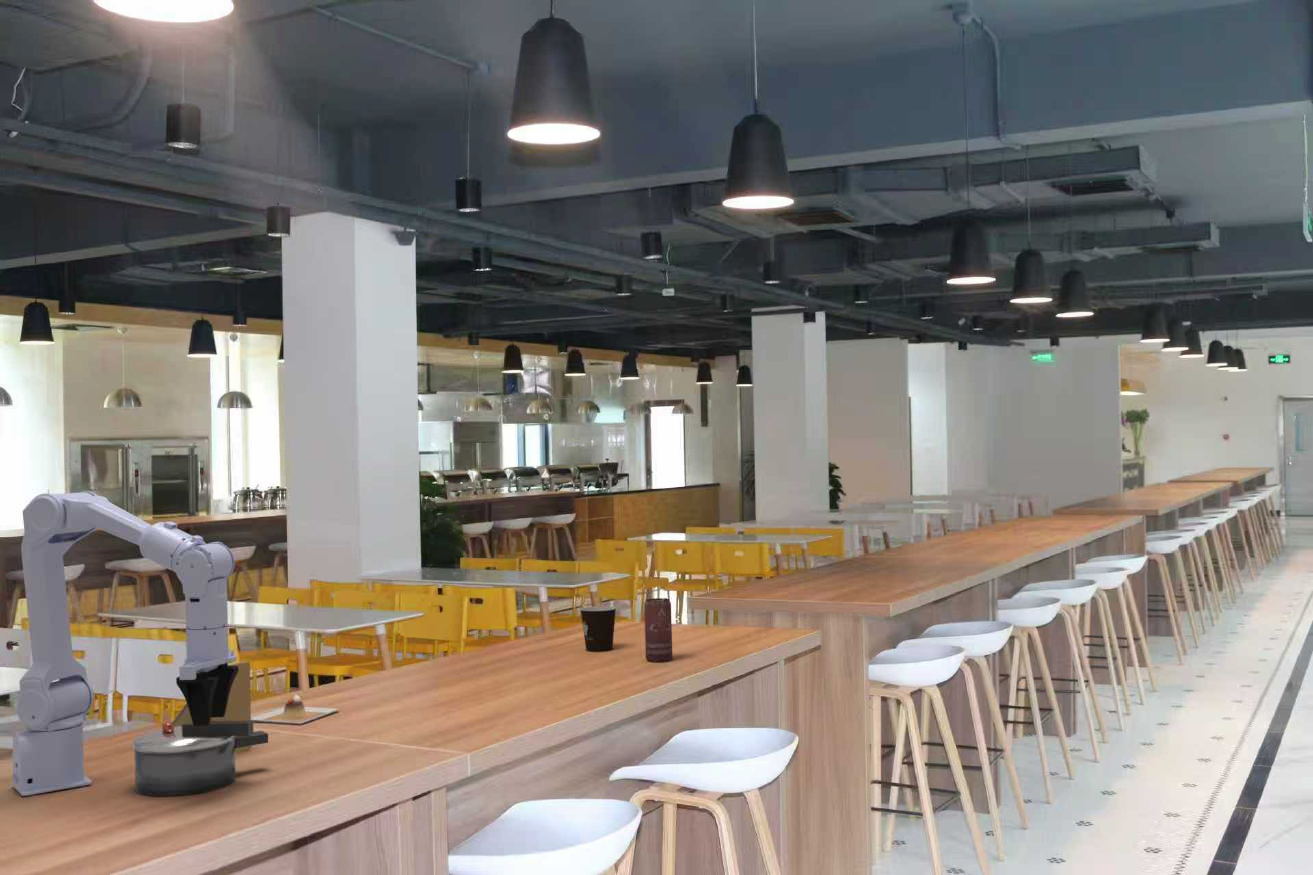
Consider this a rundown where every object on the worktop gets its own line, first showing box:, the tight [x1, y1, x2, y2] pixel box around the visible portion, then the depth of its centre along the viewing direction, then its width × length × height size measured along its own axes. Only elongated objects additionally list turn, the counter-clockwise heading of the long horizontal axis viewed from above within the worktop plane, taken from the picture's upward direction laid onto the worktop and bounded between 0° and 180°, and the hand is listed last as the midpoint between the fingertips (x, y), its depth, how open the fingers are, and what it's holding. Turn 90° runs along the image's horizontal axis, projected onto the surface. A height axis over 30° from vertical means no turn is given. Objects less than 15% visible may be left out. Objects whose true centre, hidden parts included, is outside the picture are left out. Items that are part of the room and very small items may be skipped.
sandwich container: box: [172, 660, 252, 755], centre depth 202 cm, size 9×15×15 cm, turn 62°
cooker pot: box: [134, 730, 269, 798], centre depth 182 cm, size 19×14×6 cm
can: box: [643, 597, 673, 663], centre depth 277 cm, size 6×6×14 cm
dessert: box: [251, 694, 340, 725], centre depth 227 cm, size 12×12×5 cm
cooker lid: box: [132, 720, 254, 754], centre depth 181 cm, size 17×14×3 cm
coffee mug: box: [580, 606, 617, 653], centre depth 296 cm, size 12×9×10 cm
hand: (209, 720), depth 175 cm, fingers open, 5 cm apart
